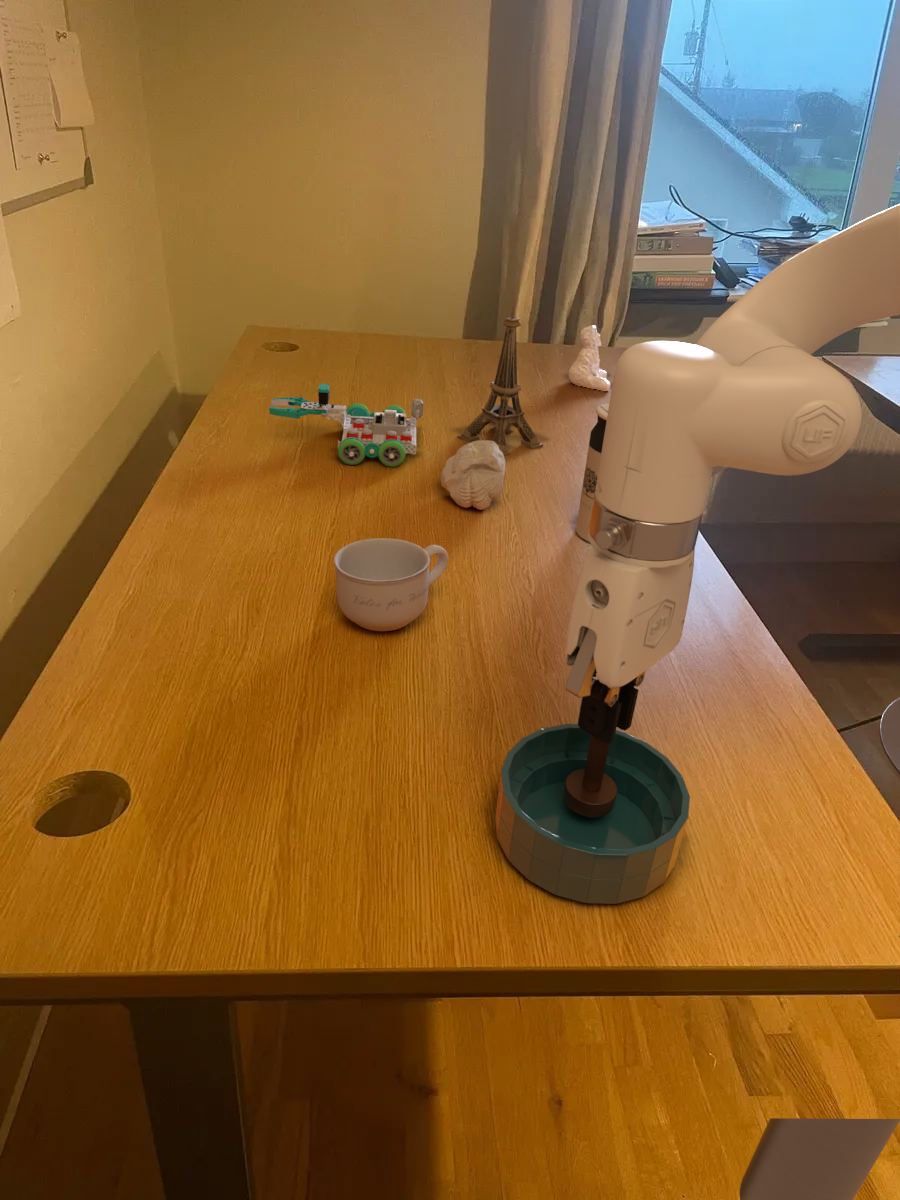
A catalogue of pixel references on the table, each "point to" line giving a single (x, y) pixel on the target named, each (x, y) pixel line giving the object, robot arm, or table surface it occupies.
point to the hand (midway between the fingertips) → (603, 726)
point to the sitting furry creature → (589, 362)
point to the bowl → (590, 844)
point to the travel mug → (591, 472)
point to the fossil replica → (475, 474)
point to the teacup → (385, 581)
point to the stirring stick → (591, 783)
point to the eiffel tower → (504, 398)
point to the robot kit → (361, 427)
